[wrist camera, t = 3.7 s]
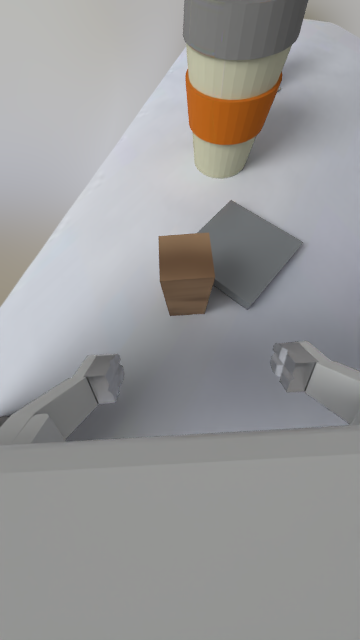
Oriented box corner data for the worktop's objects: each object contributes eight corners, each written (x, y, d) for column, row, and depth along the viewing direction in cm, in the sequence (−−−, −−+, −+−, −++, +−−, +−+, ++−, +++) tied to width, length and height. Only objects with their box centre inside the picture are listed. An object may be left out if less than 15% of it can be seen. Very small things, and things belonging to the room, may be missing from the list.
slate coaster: (228, 209, 28) (231, 200, 26) (296, 250, 25) (303, 242, 24) (178, 258, 25) (177, 251, 24) (247, 309, 23) (251, 305, 21)
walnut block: (168, 285, 24) (158, 236, 16) (201, 282, 24) (209, 232, 15) (170, 315, 23) (159, 281, 14) (204, 313, 23) (215, 277, 14)
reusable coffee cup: (267, 149, 31) (335, -40, 17) (237, 196, 28) (288, 14, 14) (205, 129, 34) (218, -53, 19) (171, 171, 31) (157, -7, 16)
